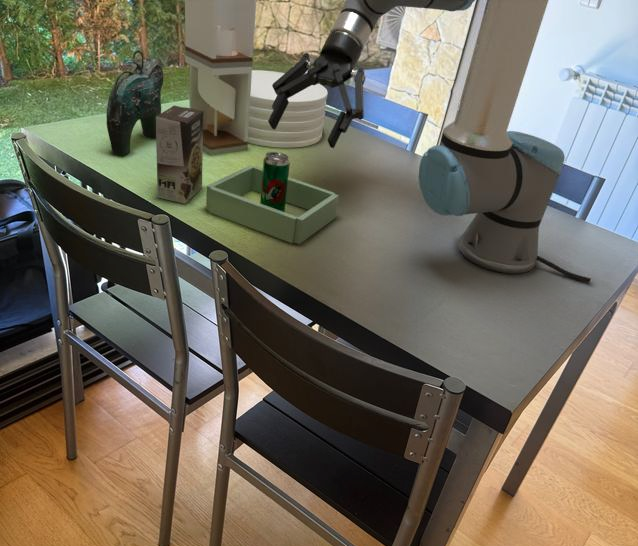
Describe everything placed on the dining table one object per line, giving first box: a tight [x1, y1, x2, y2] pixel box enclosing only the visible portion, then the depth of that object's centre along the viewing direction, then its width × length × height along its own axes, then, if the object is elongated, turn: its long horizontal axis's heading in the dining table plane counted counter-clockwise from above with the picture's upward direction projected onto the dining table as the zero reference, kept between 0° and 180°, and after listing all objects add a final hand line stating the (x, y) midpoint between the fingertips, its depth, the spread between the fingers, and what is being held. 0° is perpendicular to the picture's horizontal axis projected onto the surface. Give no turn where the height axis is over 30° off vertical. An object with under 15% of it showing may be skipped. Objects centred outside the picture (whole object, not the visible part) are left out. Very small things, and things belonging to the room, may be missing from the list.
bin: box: [205, 165, 340, 245], centre depth 120 cm, size 21×16×5 cm
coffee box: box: [155, 105, 204, 205], centre depth 119 cm, size 9×6×16 cm
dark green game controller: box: [105, 49, 164, 157], centre depth 136 cm, size 20×6×20 cm, turn 164°
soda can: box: [259, 151, 291, 213], centre depth 118 cm, size 5×5×12 cm
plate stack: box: [247, 69, 329, 149], centre depth 160 cm, size 28×28×12 cm
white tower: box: [184, 0, 257, 156], centre depth 138 cm, size 11×11×35 cm
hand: (300, 134), depth 119 cm, fingers open, 13 cm apart
